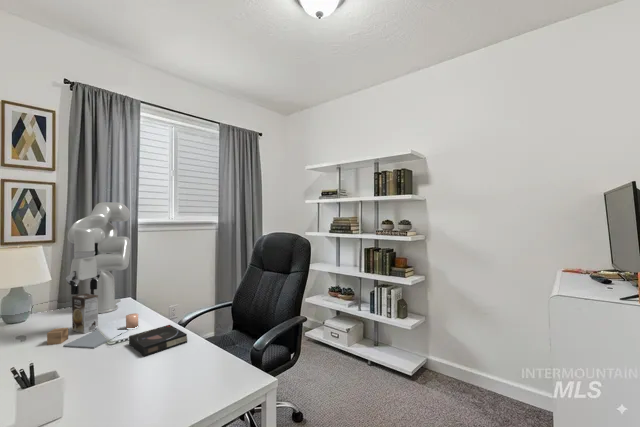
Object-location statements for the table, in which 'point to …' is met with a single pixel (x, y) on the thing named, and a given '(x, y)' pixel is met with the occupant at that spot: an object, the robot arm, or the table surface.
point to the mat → (88, 341)
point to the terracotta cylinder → (132, 320)
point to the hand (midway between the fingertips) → (84, 291)
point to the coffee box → (84, 313)
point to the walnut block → (57, 336)
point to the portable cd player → (157, 340)
